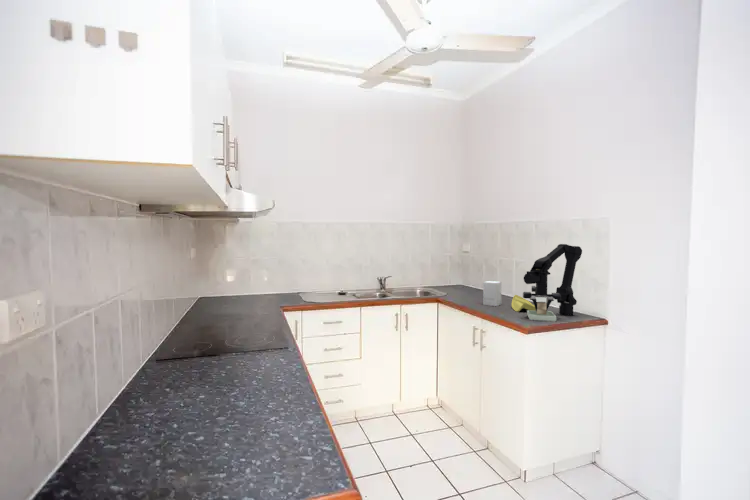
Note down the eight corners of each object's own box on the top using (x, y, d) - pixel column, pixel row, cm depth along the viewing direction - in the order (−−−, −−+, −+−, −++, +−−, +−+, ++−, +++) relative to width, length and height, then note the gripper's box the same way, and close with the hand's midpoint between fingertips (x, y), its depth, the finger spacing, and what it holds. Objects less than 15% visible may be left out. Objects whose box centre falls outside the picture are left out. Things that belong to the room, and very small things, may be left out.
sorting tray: (552, 315, 207) (552, 311, 207) (556, 321, 195) (556, 316, 194) (527, 314, 211) (527, 310, 211) (529, 319, 198) (529, 315, 198)
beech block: (545, 312, 204) (545, 302, 204) (546, 314, 200) (546, 303, 199) (536, 312, 205) (536, 301, 205) (537, 314, 201) (537, 303, 201)
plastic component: (538, 308, 216) (522, 301, 216) (532, 319, 217) (516, 312, 217) (527, 300, 236) (513, 293, 236) (521, 310, 237) (507, 303, 237)
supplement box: (501, 304, 241) (501, 281, 241) (496, 306, 235) (496, 283, 234) (488, 302, 247) (488, 280, 247) (482, 304, 240) (482, 281, 240)
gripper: (557, 281, 207) (557, 309, 208) (521, 280, 212) (521, 307, 213) (561, 284, 196) (561, 313, 197) (523, 283, 201) (523, 311, 202)
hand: (541, 311), depth 203 cm, fingers closed on beech block, 4 cm apart
